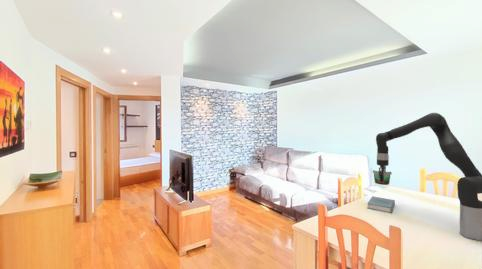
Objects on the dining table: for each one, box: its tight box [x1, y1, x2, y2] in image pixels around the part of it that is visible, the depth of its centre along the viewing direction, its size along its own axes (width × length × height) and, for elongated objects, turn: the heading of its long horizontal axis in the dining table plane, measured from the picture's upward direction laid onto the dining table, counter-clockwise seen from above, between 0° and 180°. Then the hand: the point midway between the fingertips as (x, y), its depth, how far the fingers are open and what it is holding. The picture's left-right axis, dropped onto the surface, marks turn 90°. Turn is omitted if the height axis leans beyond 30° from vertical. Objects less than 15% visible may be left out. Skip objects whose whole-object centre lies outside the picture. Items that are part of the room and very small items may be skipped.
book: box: [367, 195, 396, 214], centre depth 162 cm, size 20×15×4 cm
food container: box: [372, 169, 393, 186], centre depth 161 cm, size 12×6×10 cm, turn 61°
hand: (382, 180), depth 162 cm, fingers closed on food container, 5 cm apart
